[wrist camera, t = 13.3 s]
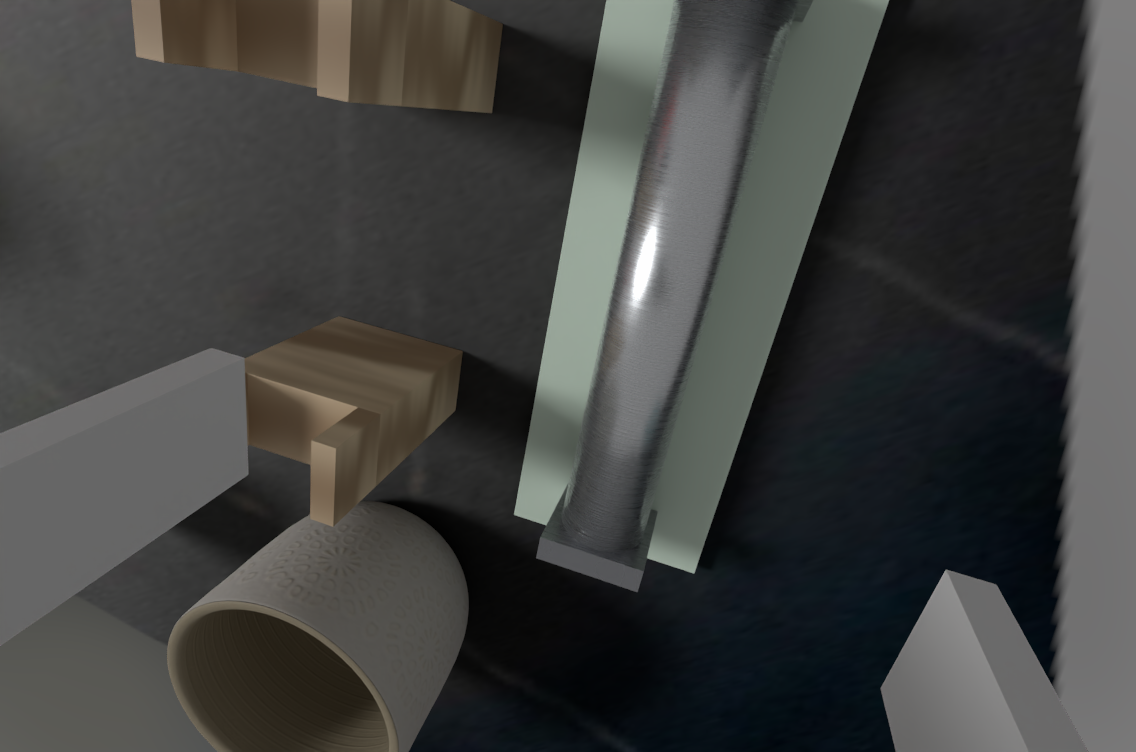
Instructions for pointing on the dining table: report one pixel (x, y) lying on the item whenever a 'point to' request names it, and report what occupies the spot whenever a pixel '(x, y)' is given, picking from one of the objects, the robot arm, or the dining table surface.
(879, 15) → the board
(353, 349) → the post far
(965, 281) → the dining table surface
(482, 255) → the dining table surface
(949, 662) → the robot arm
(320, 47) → the post near
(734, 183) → the rail
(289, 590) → the planter
